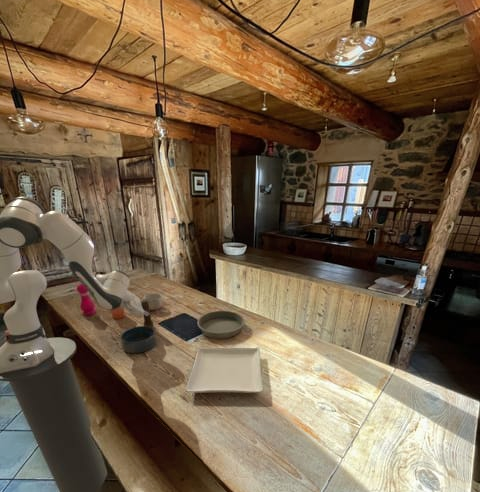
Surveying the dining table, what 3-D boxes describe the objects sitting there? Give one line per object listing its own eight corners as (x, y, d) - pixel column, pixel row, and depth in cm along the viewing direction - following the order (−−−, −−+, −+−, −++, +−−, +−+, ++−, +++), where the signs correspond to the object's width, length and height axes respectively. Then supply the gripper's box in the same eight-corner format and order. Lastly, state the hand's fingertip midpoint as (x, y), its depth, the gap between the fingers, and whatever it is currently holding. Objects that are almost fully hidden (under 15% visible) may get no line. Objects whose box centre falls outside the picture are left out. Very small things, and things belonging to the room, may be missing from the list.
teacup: (161, 303, 170) (160, 291, 167) (165, 309, 161) (163, 297, 158) (138, 307, 165) (136, 295, 161) (141, 314, 156) (138, 302, 152)
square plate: (259, 354, 118) (259, 346, 116) (262, 399, 93) (263, 391, 91) (198, 354, 118) (198, 346, 117) (185, 398, 93) (184, 390, 92)
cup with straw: (107, 316, 154) (100, 287, 146) (123, 311, 159) (117, 283, 152) (113, 321, 148) (106, 291, 140) (129, 316, 153) (123, 287, 146)
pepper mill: (98, 311, 160) (90, 279, 152) (91, 316, 154) (82, 283, 146) (87, 310, 161) (79, 279, 153) (79, 315, 155) (70, 283, 147)
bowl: (126, 358, 116) (123, 346, 114) (120, 342, 128) (117, 331, 125) (160, 347, 123) (159, 336, 121) (151, 333, 135) (149, 323, 133)
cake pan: (204, 345, 125) (204, 336, 123) (193, 322, 146) (192, 315, 144) (252, 334, 133) (252, 326, 131) (234, 314, 154) (234, 307, 152)
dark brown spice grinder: (145, 331, 137) (140, 303, 131) (143, 327, 141) (138, 300, 134) (154, 328, 140) (150, 301, 133) (152, 325, 143) (147, 298, 137)
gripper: (129, 301, 121) (154, 316, 128) (126, 287, 137) (148, 301, 145) (121, 312, 121) (146, 326, 128) (118, 296, 138) (141, 310, 145)
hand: (147, 312), depth 137 cm, fingers closed on dark brown spice grinder, 3 cm apart
